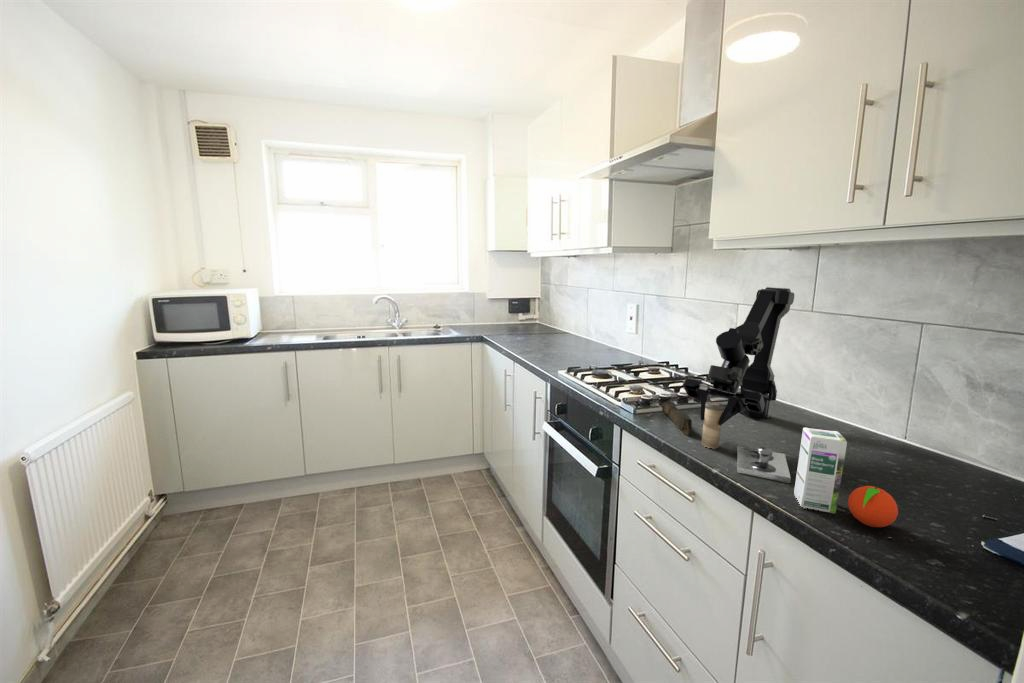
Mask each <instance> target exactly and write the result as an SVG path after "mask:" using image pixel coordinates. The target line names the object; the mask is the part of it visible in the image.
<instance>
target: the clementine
mask: <svg viewBox="0 0 1024 683" xmlns="http://www.w3.org/2000/svg"><path fill="white" fill-rule="evenodd" d="M847 499H848V500H847V504H848V506H847V507H848V509H849V511H850V513H851V515H852V516H853V517H854V518H855V519H856V520H857V521H858V522H860V523H861V524H863V525H865V526H867V527H872V528H885V527H887V526H889V525H892V524H893V523H894V522H895V521H896V519H897V517H898V514H899V508H898V505H897V503H896V502H897V501H896V500H895V499H894V497H893V496H892V495H891V494H889V493H888V492H887V491H886V490H884V489H882V488H880V487H877V486H873V485H865V486H864V485H863V486H860V487H857V488H855V489H854V490H853V491H851V493H850V494H849V496H848V498H847Z"/></svg>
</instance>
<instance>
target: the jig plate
mask: <svg viewBox="0 0 1024 683" xmlns="http://www.w3.org/2000/svg"><path fill="white" fill-rule="evenodd" d="M736 451H737V452H736V453H737V457H736V458H737V459H736V462H737V464H736V469H737V470H736V471H737V472H736V473H739V474H743V475H748V476H753V477H758V478H762V479H768V480H772V481H777V482H780V483H781V482H782V483H787V484H791V473H790V469H789V466H788V462H787V457H786V454H785V453H780V452H775V451H774V450H773V449H771V448H770V447H765V446H758V448H755V447H754V448H753V447H748V446H742V445H737V449H736Z"/></svg>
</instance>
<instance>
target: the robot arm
mask: <svg viewBox="0 0 1024 683" xmlns="http://www.w3.org/2000/svg"><path fill="white" fill-rule="evenodd" d="M794 301H795V293H794V292H793V291H791V288H785V287H768V286H767V287H766V288H761V289H758V290H757V292H756V298H755V300H754V303H753V305H752V306H751V308H750V310H749V312H748V314H747V316H746V318H745V320H744V322H743V323H742V324H740V325H738V326H736V327H735V328H733V327H730V328H729V329H728V330H727V331H724V332H722V333H719V335H717V336H716V339H715V343H716V346H717V349H718V352H719V355H720V357H721V359H722V360H723V362H722V364H721V365H720V366H719V365H713V364H712V365H710V367H709V371H708V374H707V378H708V379H710V381H709V383H710V385H712V386H710V385H708V384H704V383H703V381H702V379H699V378H698V379H697V378H693V377H686V378H685V379H684V381H683V383H682V385H683V388H684V390H685V392H686V395H687V396H688V397H691V398H694V399H695V398H696V399H699V402H700V420H701V421H702V422H704V415H705V404H706V402H712V400H711V397H712V396H714V397H719V398H721V399H722V398H723V399H726V400H727V402H726V405H725V406H724V407H725V408H723V413H722V415H721V417H720V420H719V423H718V424H719V425H720V426H721V427H722V426H723V424H725V423H726V422H727V421H728V420H730V419H731V418H732V417H734V416H736V415H737V414H740V415H743V416H746V417H748V418H750V419H752V420H755V421H760V420H768V419H769V420H770V419H772V418H773V416H772V415H769V409H770V402H772V401H777V395H778V394H777V393H778V389H777V386H776V385H777V384H776V382H775V374H774V372H773V369H772V366H771V364H772V361H773V357H774V351H775V347H776V344H777V338H778V333H779V329H780V326H781V325H780V324H781V320H782V318H784V317H785V316H786V315H787V314H788V313H789V312H790V308H791V305H793V304H794ZM749 356H754V357H753V361H752V363H751V364H750V357H749ZM749 364H750V365H749ZM739 388H740V393H739V392H738V391H739Z"/></svg>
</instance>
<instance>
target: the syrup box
mask: <svg viewBox="0 0 1024 683" xmlns="http://www.w3.org/2000/svg"><path fill="white" fill-rule="evenodd" d="M847 445H848V441H847V439H846V438H845V437H844V436H843V435H842V434H841V433H840V432H839V431H837V430H825V429H819V428H812V427H811V428H809V427H803V428H802V434H801V441H800V447H799V448H800V449H799V453H798V454H799V455H798V462H797V470H796V476H795V484H794V491H793V495H794V498H795V499H796V498H797V499H796V501H797V500H798V501H797V503H798V502H799V503H798V505H799V504H800V505H799V506H801V507H803V508H802V509H807V508H808V509H809V510H813V509H814V510H813V511H818V510H819V512H825V513H829V514H833V515H834V514H835V515H836V513H837V507H838V502H839V501H838V500H839V494H840V488H841V483H842V476H843V470H844V466H845V465H844V464H845V458H846V452H847ZM801 507H800V508H801Z"/></svg>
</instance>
